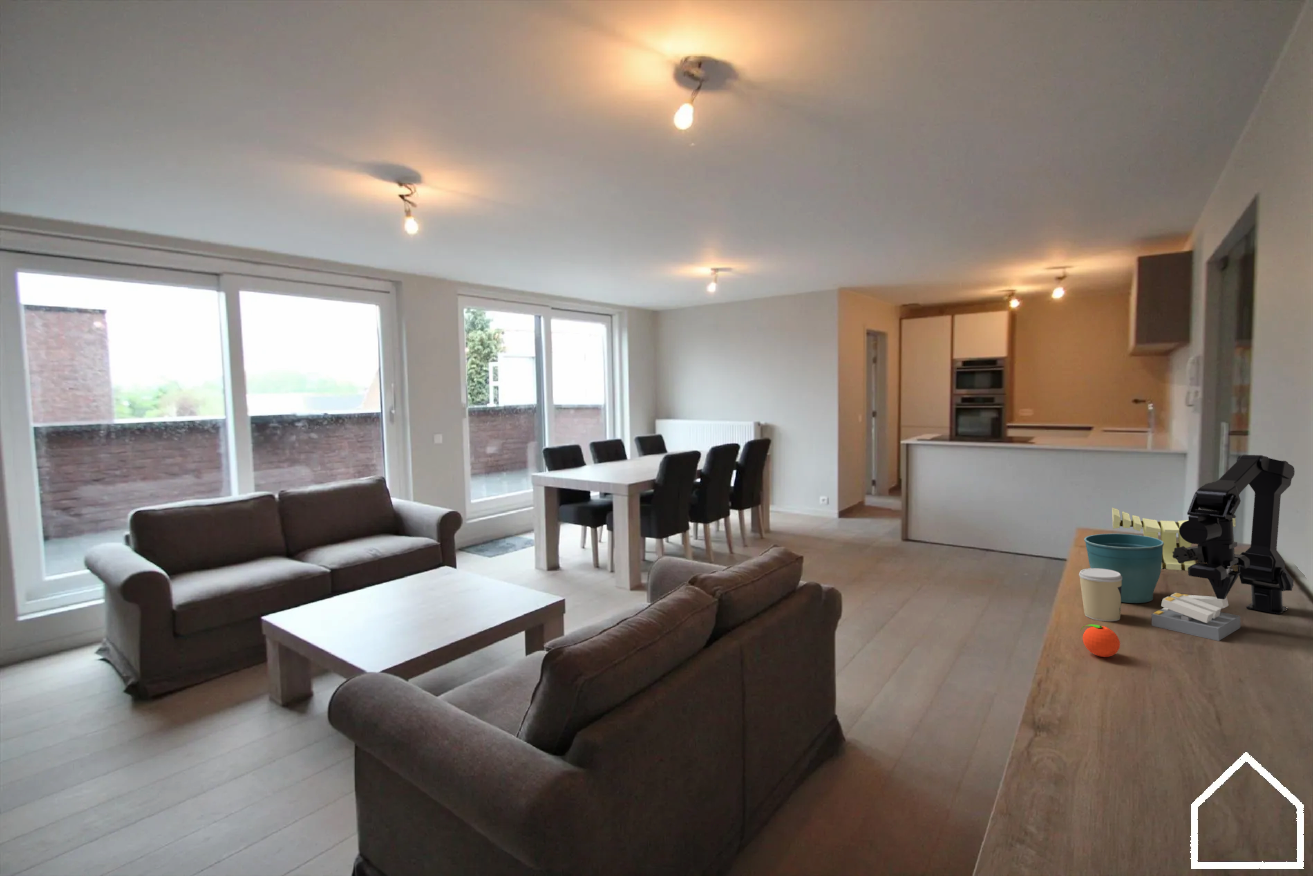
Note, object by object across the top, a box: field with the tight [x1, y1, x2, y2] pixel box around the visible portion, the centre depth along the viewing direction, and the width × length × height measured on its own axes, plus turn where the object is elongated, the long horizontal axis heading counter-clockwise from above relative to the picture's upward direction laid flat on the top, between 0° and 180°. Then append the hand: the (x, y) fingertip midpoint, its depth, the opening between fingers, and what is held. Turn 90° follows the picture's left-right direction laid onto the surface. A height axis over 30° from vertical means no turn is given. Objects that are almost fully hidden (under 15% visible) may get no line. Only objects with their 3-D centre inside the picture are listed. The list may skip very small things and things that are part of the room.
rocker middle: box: [1169, 592, 1222, 618], centre depth 148 cm, size 3×9×2 cm, turn 29°
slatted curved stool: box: [1111, 507, 1237, 572], centre depth 199 cm, size 30×16×18 cm, turn 54°
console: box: [1150, 607, 1241, 642], centre depth 148 cm, size 13×13×4 cm
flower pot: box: [1083, 533, 1164, 604], centre depth 171 cm, size 18×18×17 cm
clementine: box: [1080, 623, 1121, 658], centre depth 137 cm, size 8×7×7 cm
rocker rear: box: [1182, 593, 1229, 609], centre depth 150 cm, size 3×9×2 cm, turn 29°
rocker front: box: [1160, 596, 1213, 623], centre depth 146 cm, size 3×9×2 cm, turn 29°
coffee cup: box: [1078, 567, 1122, 622], centre depth 159 cm, size 9×9×12 cm
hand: (1221, 600), depth 147 cm, fingers closed, pressing on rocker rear
